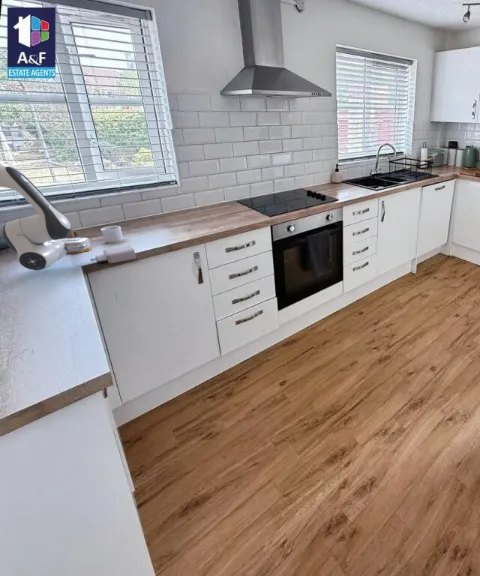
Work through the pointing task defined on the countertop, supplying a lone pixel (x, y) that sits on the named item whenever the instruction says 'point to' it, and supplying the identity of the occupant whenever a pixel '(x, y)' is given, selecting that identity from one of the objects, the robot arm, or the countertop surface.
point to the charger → (116, 254)
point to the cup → (112, 234)
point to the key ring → (71, 235)
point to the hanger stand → (75, 237)
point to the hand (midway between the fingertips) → (64, 240)
